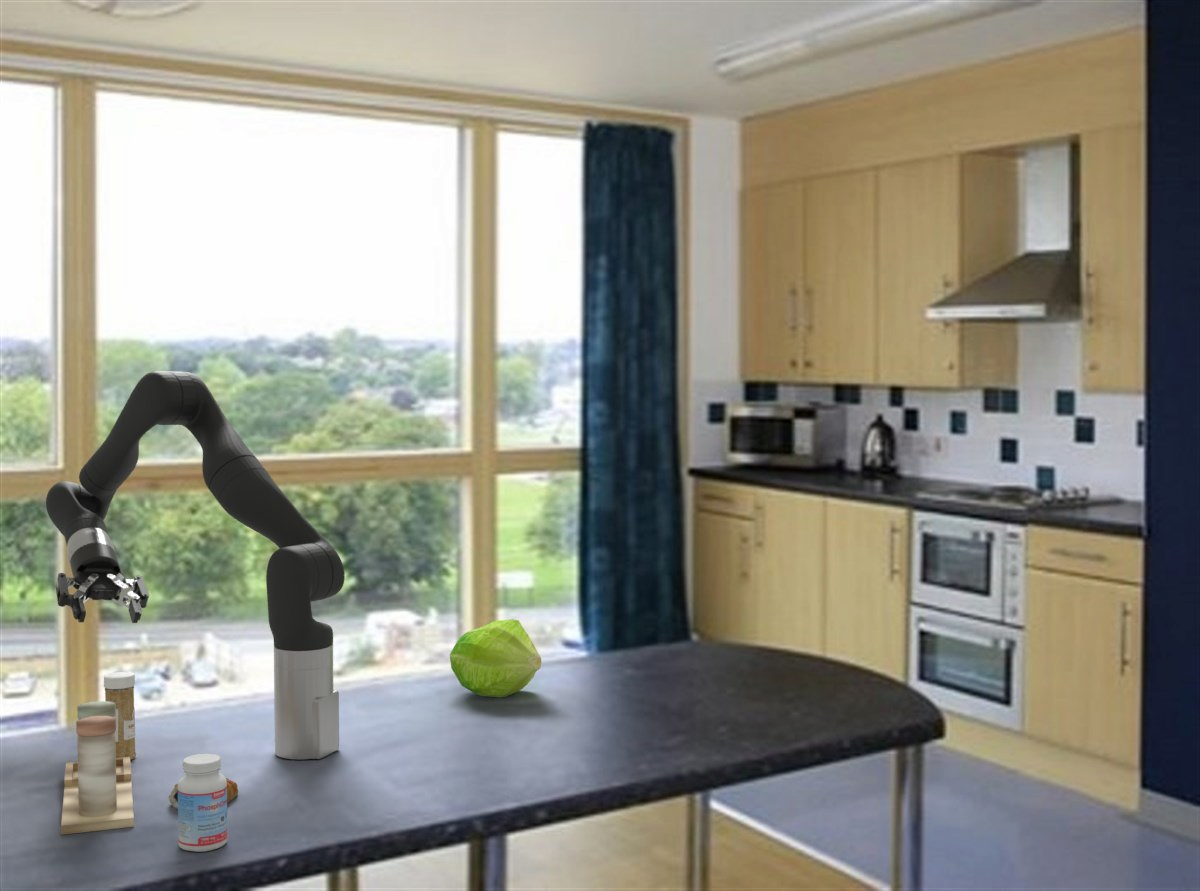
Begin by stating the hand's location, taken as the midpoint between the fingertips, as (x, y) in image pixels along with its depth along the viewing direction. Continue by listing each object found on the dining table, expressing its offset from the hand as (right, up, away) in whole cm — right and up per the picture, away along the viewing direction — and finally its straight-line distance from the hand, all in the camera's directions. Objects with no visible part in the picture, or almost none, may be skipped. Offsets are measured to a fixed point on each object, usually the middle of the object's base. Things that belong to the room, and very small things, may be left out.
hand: (109, 618), depth 216 cm
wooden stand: (+9, -22, -29) cm, 38 cm away
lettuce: (+61, -19, +32) cm, 71 cm away
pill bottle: (+29, -23, -46) cm, 59 cm away
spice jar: (+5, -21, -9) cm, 23 cm away
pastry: (+24, -22, -30) cm, 44 cm away
